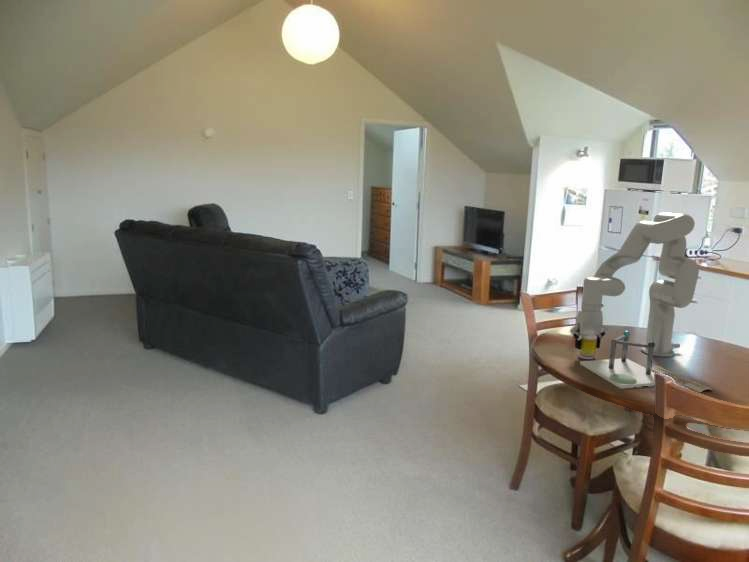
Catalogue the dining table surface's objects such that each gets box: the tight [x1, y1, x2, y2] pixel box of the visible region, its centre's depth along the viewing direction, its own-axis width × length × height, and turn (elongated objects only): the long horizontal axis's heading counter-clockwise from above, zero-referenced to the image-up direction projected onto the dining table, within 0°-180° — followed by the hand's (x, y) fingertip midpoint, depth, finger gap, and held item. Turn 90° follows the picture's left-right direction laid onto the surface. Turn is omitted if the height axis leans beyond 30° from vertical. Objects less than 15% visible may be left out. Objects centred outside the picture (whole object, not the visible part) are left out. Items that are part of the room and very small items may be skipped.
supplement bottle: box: [577, 330, 597, 360], centre depth 218 cm, size 7×7×13 cm
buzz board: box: [579, 358, 655, 390], centre depth 201 cm, size 21×25×2 cm
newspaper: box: [651, 365, 714, 393], centre depth 196 cm, size 24×7×2 cm, turn 17°
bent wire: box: [609, 330, 655, 375], centre depth 203 cm, size 12×16×13 cm
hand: (587, 347), depth 218 cm, fingers open, 8 cm apart
